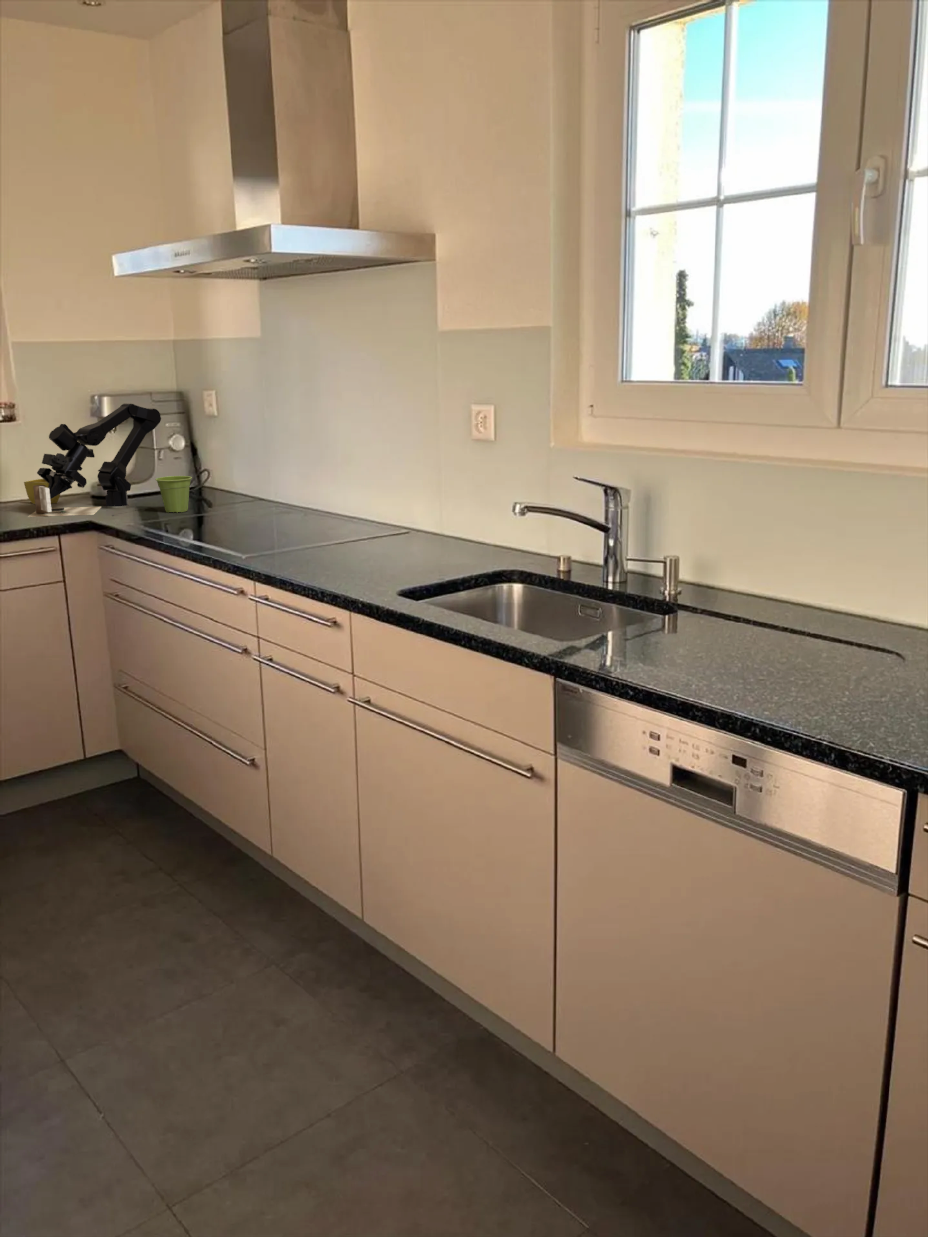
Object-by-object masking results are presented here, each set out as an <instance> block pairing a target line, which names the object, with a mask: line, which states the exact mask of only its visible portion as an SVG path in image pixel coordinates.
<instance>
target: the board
mask: <svg viewBox="0 0 928 1237" xmlns="http://www.w3.org/2000/svg"><path fill="white" fill-rule="evenodd" d="M56 508H57V507H51V509H56ZM63 508H64V510H61V511H52V512H48V513H36V510H35V511H34V512H32V513H31V514H29V515H28V516H27V518H31V517H32V518H35V517H36V518H37V517H61V516H65V517H67V516H89V515H90V516H93V515H95V514H96V513H97V512H98V511H99V510H100V509H101V508H102V506H76V507H74V506H69V507H63Z"/></svg>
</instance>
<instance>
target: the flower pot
mask: <svg viewBox="0 0 928 1237" xmlns="http://www.w3.org/2000/svg"><path fill="white" fill-rule="evenodd" d="M23 484H24V488H25V491H26V496H27V497H28V499H29V501H30V503H31V504H33V505H35V498H34V489H33V486H35V485H45V487H47V488H48V486H49V483H48V482H46V481H45V480H44V479H43V478H37V479H33V480H28V481H26V480H25V481H23ZM60 496H61V493H60V494H59V495H57V496H55V497H53V498H52V499H50V500H51V504H57V503H58V502H59V500H60Z"/></svg>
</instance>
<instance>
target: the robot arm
mask: <svg viewBox="0 0 928 1237" xmlns="http://www.w3.org/2000/svg"><path fill="white" fill-rule="evenodd" d="M129 418H130V419H132V420H133V421H132V428H131V430H130V432H129V433H128V434H127V436H126V438H125V440H124V442H123V443H122V445H121V446H120V448H119V450H118V451H117V453H116V455H115V456H114V458H113V459H112V460H111V461H104V462H103V463H102V464H101V466H100V468H99V469H98V470H97V472H98V474H97V481H98V483H99V484H100V485H101V488H102V490H103V491H106V495H105V498H104V499H105V506H106V507H115V508H116V507H125V506H126V507H128V506H130V505H129V499H128V498H129V497H128V492H129V491H131V488H132V484H131V483H130V482H129V481H128V480H127V479H126V477H127V467H128V465H129V463H130V461H131V460H132V459H133V457H134V455H135V454H136V452H137V450H138V449H139V447H140V446H141V443H142V442H143V441H144V440H145V437H146V436H147V434H149V433H150V432H152V431H153V430H155V429H156V427H158V425H159V424H160V423H161V420H162V416H161V413H160V411H159V410H158V409H156V408H149V407H148V408H147V407H143V406H139V405H136V404H134V403H122V404H121V405H120V406H119V407H117V408H116V409H115V410H113V411H111V412H110V413H109V414H107V415H105V416H104V417H102V418H101V419H100V420H98V421H97V422H94V423H91V424H87V425H84V426H82V427H80V428H79V429H77V431H76V432H73V431H72V430H71V429H70V428H69V426H68V425H67V424H66V423H61V424H59V425H58V426H57V427H55V428H54V429H53V430H51V431H50V433H49V435H48V439H49V440H50V441H51V442H52V443H53V444H54V445H56V446H57V447H58V448H59V449H60V450H61V451H67V452H66V453H65V454H63V453H61V452H60V453H56V454H51V453H43V456H42V460H41V464H43V465H47V466H50V467H51V468H49V467H40V468H39V469H38V470H37V472H36V474H37V475H38V476H39V477H41V479H44V480H45V481H46V482H48V483H49V486H48V488H49V491H50V499H52V498H53V497H55V496H57V495H59V494H60V495H61V494H62V493H64V492H66V491H68V490H70V489H72V488H73V486H72V485H73V483H76V482H77V484H76V485H77V488H82V489H84V488H85V486H86V485H87V478H85V477H84V475H83V474H81V473H80V472H79V471H82V470H83V467H82V465H83V463H84V462H85V460H86V459H87V458H95V457H96V456H95V453H94V449H93V448H89V447H88V446H90V447H91V446H95V447H96V446H98V445H100V444H101V443H103V441H104V440H105V438H106V436H107V435H108V433H109V432H111V431H112V430H114V429H115V428H117V427H118V426H119V425H121V424H122V423H124V422H126V421H127V420H128V419H129Z"/></svg>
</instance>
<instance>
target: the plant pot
mask: <svg viewBox="0 0 928 1237" xmlns="http://www.w3.org/2000/svg"><path fill="white" fill-rule="evenodd" d="M192 479H193V477H192V476H189V475H172V476H171V475H170V476H169V475H168V476H161V477H157V478H155V481H156V483H157V485H158V486H157V487H158V488H159V491H160V495H161V499H162V501H163V502H162V503H163V505H164V506H163V507H164V510H165V512H166V513H169V512H173V513H178V512H181V513H185V512H187V511H188V510H189V499H190V497H189V496H190V486H191V481H192Z"/></svg>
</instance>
